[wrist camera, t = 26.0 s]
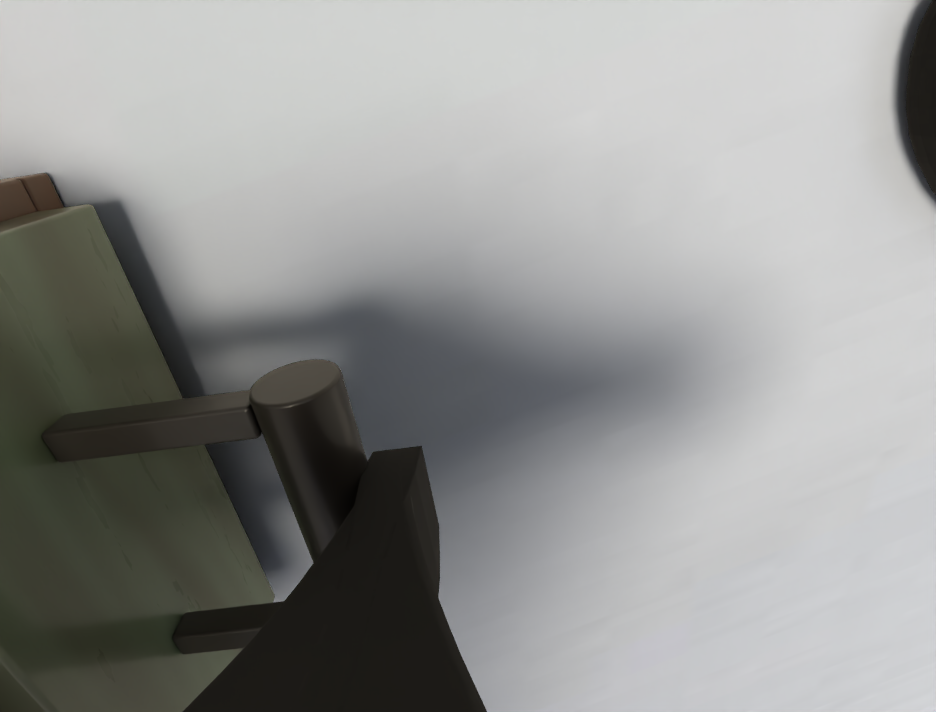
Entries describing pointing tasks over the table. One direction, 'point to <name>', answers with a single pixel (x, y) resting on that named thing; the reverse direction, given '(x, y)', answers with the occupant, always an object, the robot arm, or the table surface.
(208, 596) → the drawer
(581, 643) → the table surface
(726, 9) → the table surface
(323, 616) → the robot arm
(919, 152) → the scissors
